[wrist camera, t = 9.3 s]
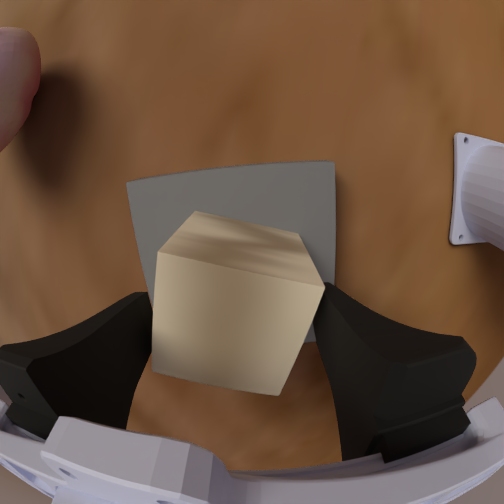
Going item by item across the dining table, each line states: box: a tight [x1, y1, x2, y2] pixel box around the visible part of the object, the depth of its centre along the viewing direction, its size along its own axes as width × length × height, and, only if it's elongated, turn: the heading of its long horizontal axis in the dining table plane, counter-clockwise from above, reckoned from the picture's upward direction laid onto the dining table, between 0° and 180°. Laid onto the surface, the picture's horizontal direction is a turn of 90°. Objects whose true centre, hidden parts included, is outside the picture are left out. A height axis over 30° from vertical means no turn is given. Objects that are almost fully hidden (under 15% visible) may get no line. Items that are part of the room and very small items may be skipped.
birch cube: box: [152, 211, 325, 396], centre depth 12 cm, size 6×6×6 cm
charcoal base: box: [126, 160, 336, 343], centre depth 16 cm, size 11×11×2 cm
